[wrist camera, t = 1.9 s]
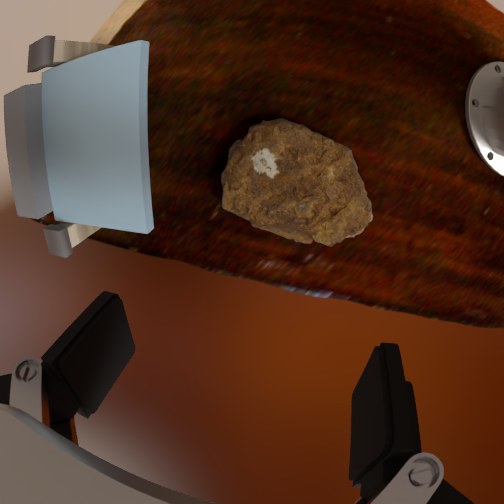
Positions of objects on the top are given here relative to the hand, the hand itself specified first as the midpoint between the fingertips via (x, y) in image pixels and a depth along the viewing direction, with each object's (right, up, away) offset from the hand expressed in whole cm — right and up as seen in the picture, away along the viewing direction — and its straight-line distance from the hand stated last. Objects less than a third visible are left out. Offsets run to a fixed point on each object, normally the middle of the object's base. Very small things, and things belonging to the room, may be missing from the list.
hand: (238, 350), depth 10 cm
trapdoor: (-14, +13, +11) cm, 22 cm away
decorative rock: (+5, +10, +18) cm, 22 cm away
